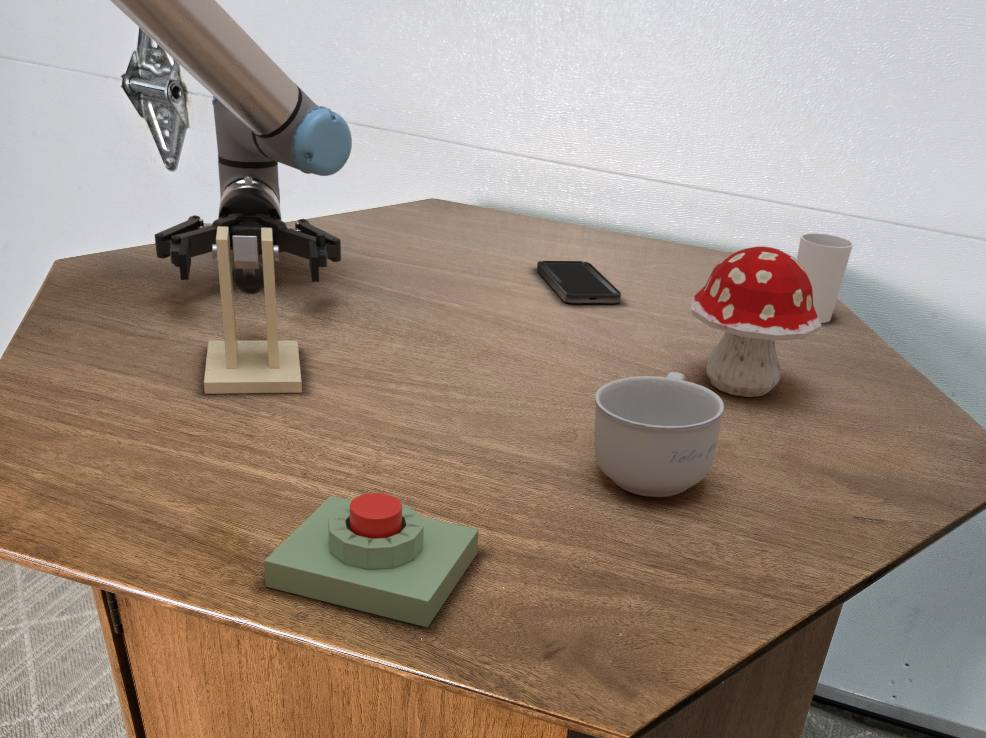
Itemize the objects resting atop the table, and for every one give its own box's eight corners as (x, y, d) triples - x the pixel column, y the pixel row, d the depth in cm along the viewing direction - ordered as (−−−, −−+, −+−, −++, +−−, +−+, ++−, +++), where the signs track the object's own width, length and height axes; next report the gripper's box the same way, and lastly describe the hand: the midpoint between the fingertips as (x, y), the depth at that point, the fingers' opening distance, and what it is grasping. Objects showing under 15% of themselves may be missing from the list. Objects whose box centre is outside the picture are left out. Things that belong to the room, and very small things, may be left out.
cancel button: (341, 533, 68) (340, 511, 67) (363, 509, 71) (363, 488, 70) (389, 545, 67) (389, 523, 66) (409, 520, 70) (410, 499, 69)
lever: (233, 297, 104) (231, 262, 104) (268, 297, 105) (267, 263, 105) (226, 267, 91) (224, 228, 91) (266, 268, 92) (264, 229, 92)
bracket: (209, 351, 102) (196, 216, 95) (297, 351, 105) (292, 219, 97) (204, 394, 93) (190, 248, 86) (301, 392, 96) (295, 251, 88)
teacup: (680, 524, 80) (697, 436, 76) (563, 485, 84) (573, 399, 80) (736, 463, 91) (753, 383, 87) (630, 430, 95) (642, 352, 91)
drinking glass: (824, 327, 127) (843, 250, 122) (776, 314, 130) (793, 238, 125) (841, 316, 132) (860, 241, 127) (794, 304, 135) (811, 230, 130)
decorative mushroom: (650, 374, 108) (671, 236, 100) (736, 354, 116) (762, 225, 108) (743, 422, 99) (775, 275, 91) (830, 397, 107) (866, 260, 99)
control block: (265, 586, 68) (262, 537, 66) (331, 519, 76) (330, 474, 74) (427, 628, 65) (429, 578, 63) (477, 554, 74) (480, 508, 72)
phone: (588, 261, 139) (623, 295, 127) (587, 269, 140) (622, 303, 128) (534, 260, 137) (565, 294, 125) (534, 268, 138) (564, 303, 126)
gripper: (139, 182, 117) (120, 230, 100) (351, 190, 124) (367, 236, 106) (147, 245, 121) (130, 301, 104) (351, 249, 128) (367, 303, 110)
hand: (250, 268), depth 105 cm, fingers open, 13 cm apart
